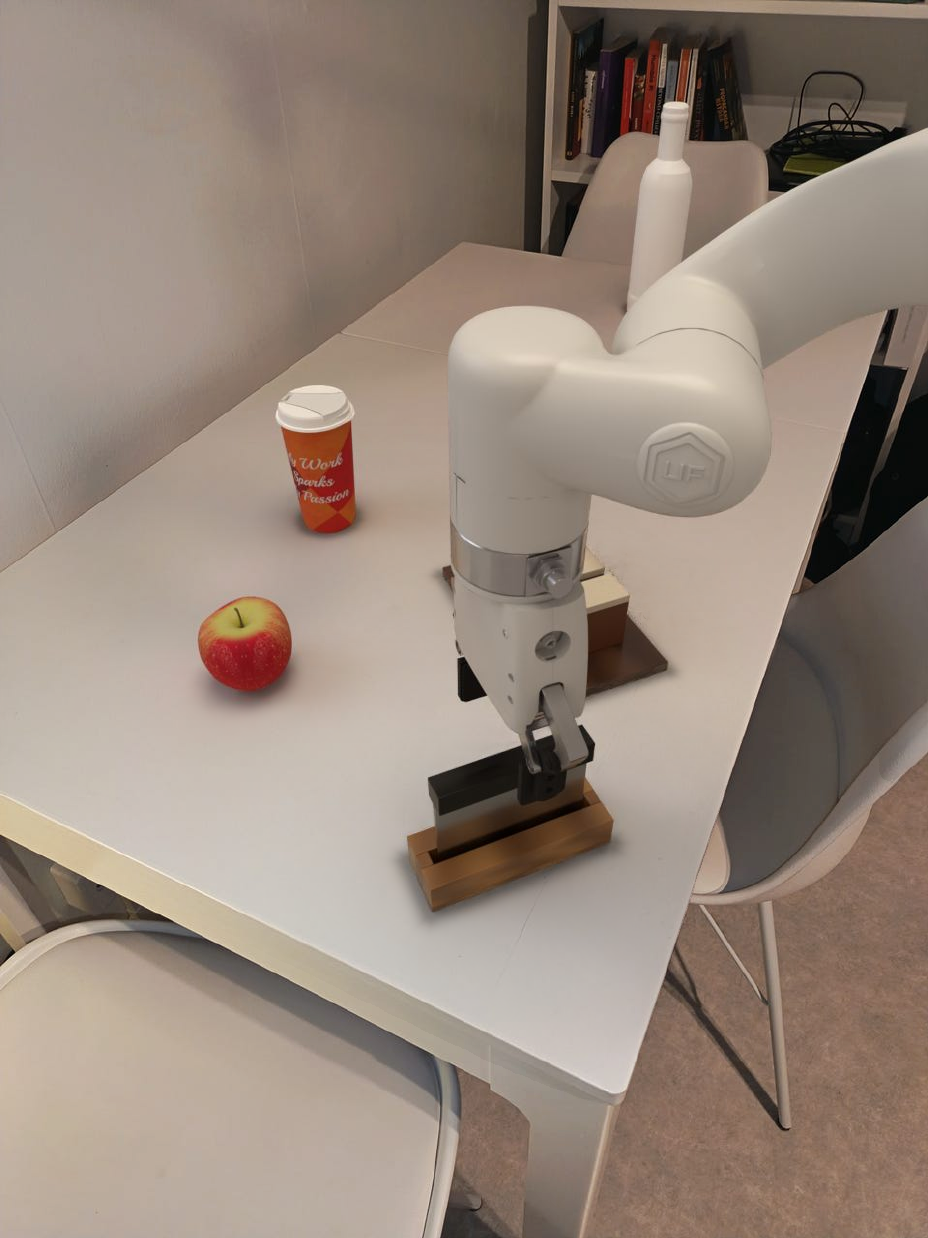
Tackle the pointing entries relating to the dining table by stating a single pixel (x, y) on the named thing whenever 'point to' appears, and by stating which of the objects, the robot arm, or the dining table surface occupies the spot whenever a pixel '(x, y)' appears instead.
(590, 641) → the cake slice
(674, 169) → the bottle
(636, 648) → the cake
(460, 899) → the knife block
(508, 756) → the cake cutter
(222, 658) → the apple
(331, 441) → the coffee cup
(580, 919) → the dining table surface
